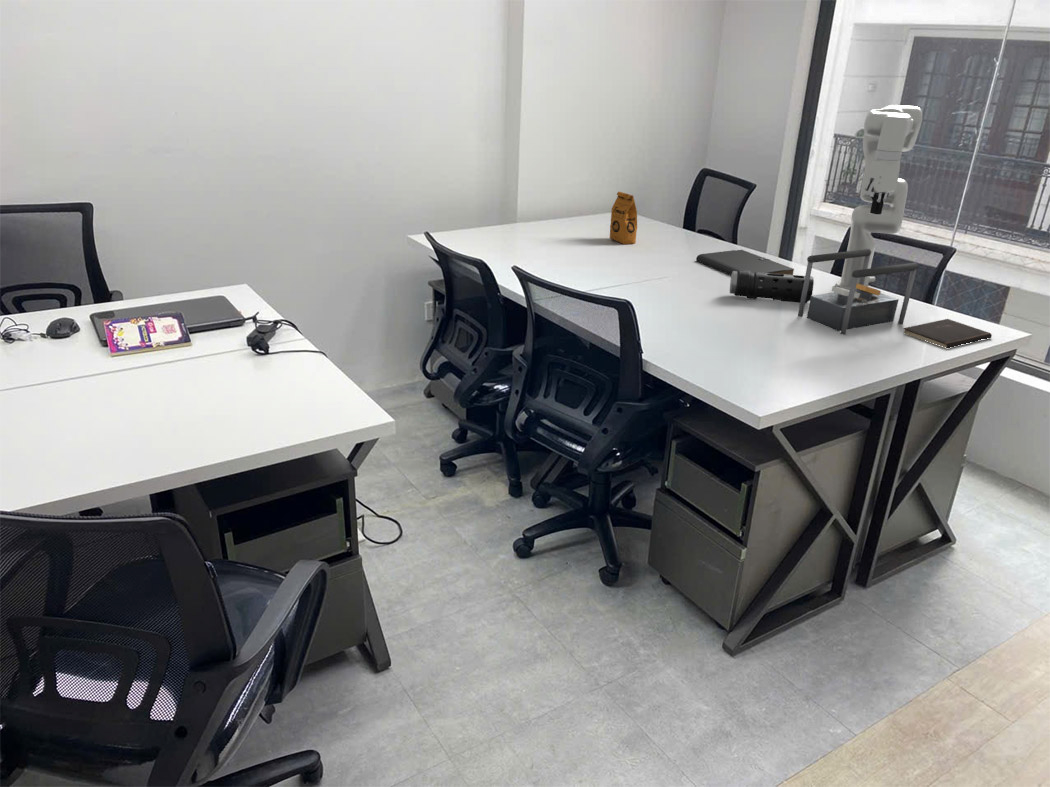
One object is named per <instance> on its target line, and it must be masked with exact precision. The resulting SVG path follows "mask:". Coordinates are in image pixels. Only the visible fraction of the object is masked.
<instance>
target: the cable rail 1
mask: <svg viewBox="0 0 1050 787" xmlns="http://www.w3.org/2000/svg"><path fill="white" fill-rule="evenodd" d="M870 255H871V250H870V249H864V250H856V251H847V250H846V251H841V252H839V251H838V252H832V253H822V254H815V255H813V254H812V255H809V256H808V257H807V258H806V260H807V265H806V271H805V274H804V276H805V280H804V285H803V291H802V296H801V301H800V303H799V307H798V312H797V317H799V318H802V317H803V315H804V311H805V305H806V303H805V301H806V296H807V291H808V286H809V280H810V276H811V274H812V270H813V264H814V263H815V264H816V263H822V262H829V261H839V260H845V259H848V258H856V257H864V256H865V258H864V263H863V267H862V269H867V267H868V263H869V258H870ZM864 281H865V277H860V281H859V284H861V285H864Z"/></svg>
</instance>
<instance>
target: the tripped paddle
mask: <svg viewBox="0 0 1050 787" xmlns="http://www.w3.org/2000/svg"><path fill="white" fill-rule="evenodd" d="M856 288H857V289H860V290H863V291H866V292H869V293H872V294H875V295H878V296H879V295H880V293H881V292H882V291H881V290H879V289H876V288H874V287H872V286H870V287H868V286H864V285H861V284H858V283H857V285H856Z"/></svg>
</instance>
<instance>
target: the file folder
mask: <svg viewBox="0 0 1050 787" xmlns="http://www.w3.org/2000/svg"><path fill="white" fill-rule="evenodd" d="M695 260H696V262H698V263H701V264H703V265H705V266H707V267H710V268H712V269H714V270H718V271H720V272H722V273H724V274H727V275H729V276H731V275H732V271H737V270H749V271H751V273H755V272H764V273H775V274H788V275H794V272H795V268H794V267H790V266H787V265H784V264H781V263H779V262H777V261H774V260H771V259H769V258H766V257H764V256H763V257H762V256H760V255H758V254H754V253H752V252H749V251H746V250H744V249H737V250H736V249H734V250H733V249H732V250H725V251H717V252H708V253H700V254H697V256H696V259H695Z"/></svg>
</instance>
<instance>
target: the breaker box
mask: <svg viewBox="0 0 1050 787" xmlns="http://www.w3.org/2000/svg"><path fill="white" fill-rule="evenodd" d="M855 292H858V293H860V295H859V298H855V297H854V298H853V303H852V307H851V312H850V317H849V321H848V326H847V330H854V329H859V328H865V327H866V328H867V327H869V326H876V325H881V324H889V323H893V322H894V320H895V316H896V312H897V308H898V304H899V300H900V299H899V298H896V297H893V296H890V295H887V294H884V293H881V292H880V295H879V296H878V295H875V294H872V293H869V292H866V291H863V290H860V289H855ZM847 301H848V296H845V295H841V294H838V293H836V292H833V291H832V292H827V293H819V294H812V296H811V298H810V301H809V304H808V310H807V314H806V319H808V320H811V321H813V322H815V323H817V324H820V325H822V326H825V327H827V328H829V329H832V330H833V331H836V332H841V328H842V324H843V319H844V315H845V310H846V305H847ZM847 330H846V331H847Z"/></svg>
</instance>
